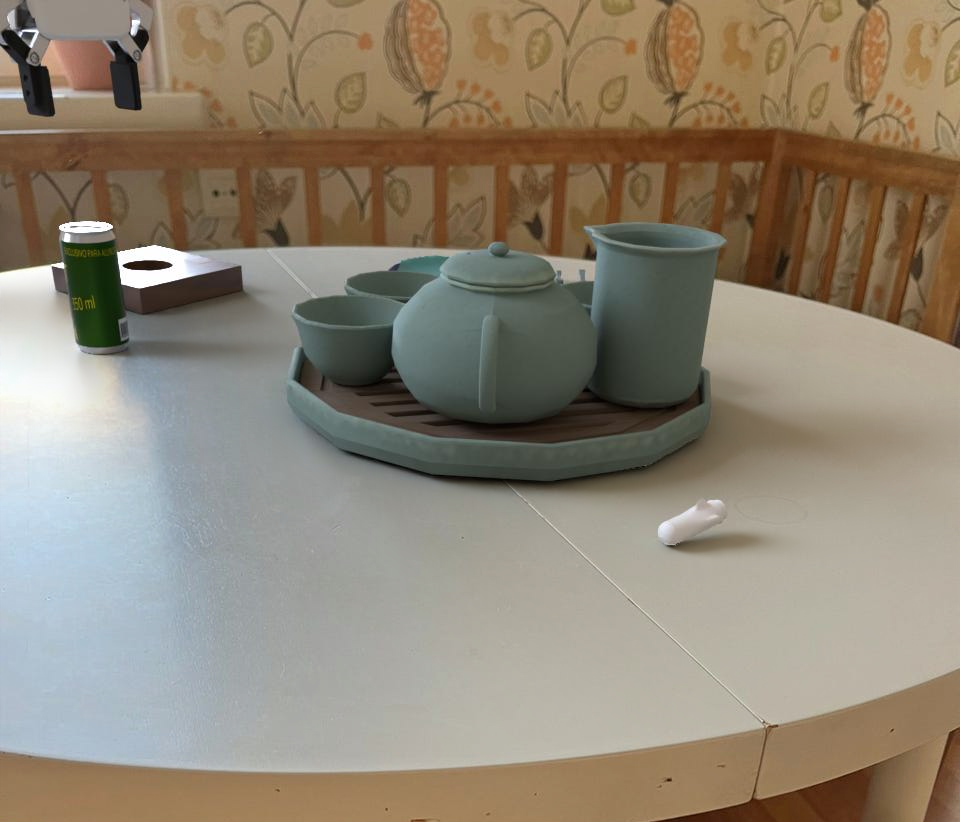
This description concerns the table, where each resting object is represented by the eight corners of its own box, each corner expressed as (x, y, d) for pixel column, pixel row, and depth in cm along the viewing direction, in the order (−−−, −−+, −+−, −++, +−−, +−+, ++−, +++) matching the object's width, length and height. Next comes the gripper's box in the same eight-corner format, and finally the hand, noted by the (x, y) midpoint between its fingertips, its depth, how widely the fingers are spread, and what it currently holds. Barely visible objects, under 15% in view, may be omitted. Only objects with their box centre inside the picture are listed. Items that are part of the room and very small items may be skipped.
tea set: (602, 335, 122) (618, 182, 113) (789, 466, 90) (831, 267, 81) (257, 353, 110) (245, 185, 102) (330, 510, 78) (322, 284, 70)
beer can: (134, 340, 112) (119, 222, 106) (125, 355, 108) (108, 233, 102) (83, 339, 112) (64, 220, 106) (71, 354, 107) (51, 231, 101)
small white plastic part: (640, 529, 78) (645, 490, 76) (717, 528, 79) (724, 490, 77) (652, 551, 75) (658, 511, 73) (733, 549, 76) (740, 510, 74)
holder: (55, 290, 128) (50, 264, 127) (157, 269, 140) (155, 245, 138) (142, 314, 121) (139, 288, 119) (243, 290, 132) (241, 265, 131)
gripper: (108, -105, 96) (134, 103, 105) (-68, -124, 84) (-22, 114, 93) (164, -105, 93) (185, 110, 102) (-12, -125, 80) (30, 122, 89)
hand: (86, 112), depth 97 cm, fingers open, 9 cm apart
